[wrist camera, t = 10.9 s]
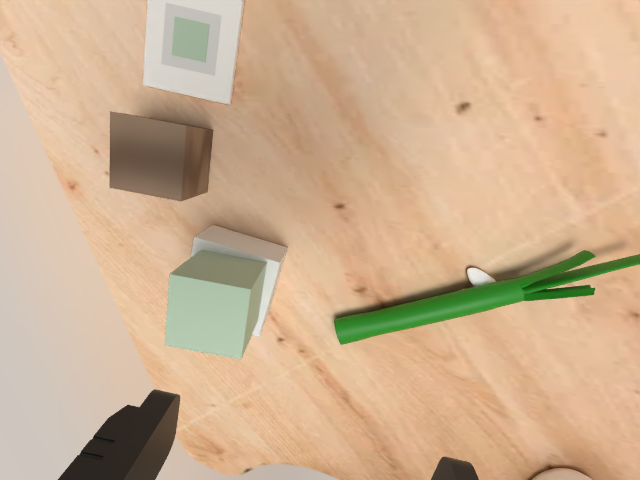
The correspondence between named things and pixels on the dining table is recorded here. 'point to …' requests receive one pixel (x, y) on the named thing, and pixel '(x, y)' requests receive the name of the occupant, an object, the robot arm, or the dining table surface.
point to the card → (193, 47)
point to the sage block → (214, 303)
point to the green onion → (478, 297)
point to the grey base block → (250, 249)
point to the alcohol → (561, 475)
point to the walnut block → (159, 157)
